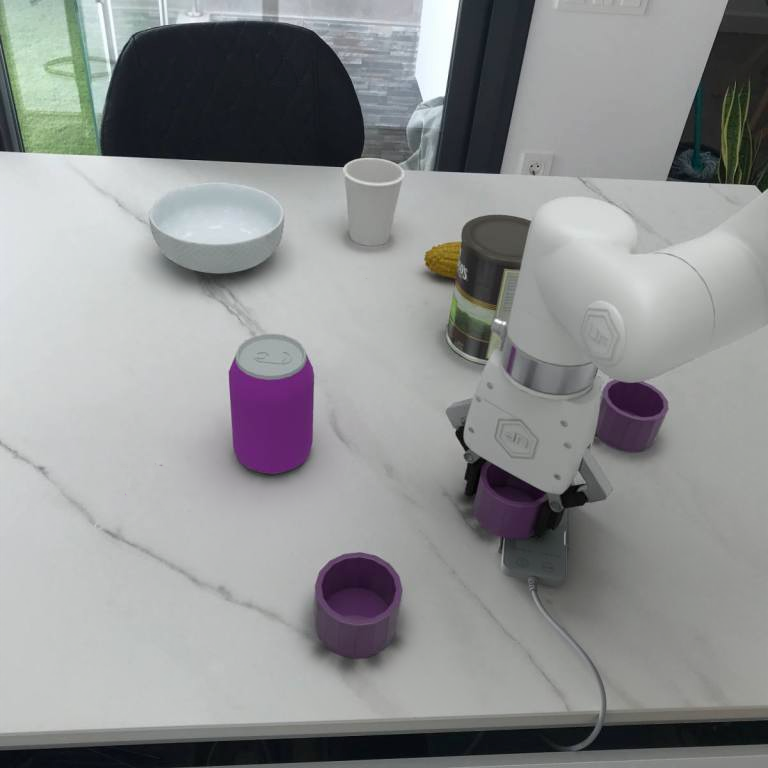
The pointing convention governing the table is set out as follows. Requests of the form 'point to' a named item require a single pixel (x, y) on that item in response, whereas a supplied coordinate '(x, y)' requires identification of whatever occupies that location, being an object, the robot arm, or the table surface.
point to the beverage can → (271, 403)
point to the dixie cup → (371, 198)
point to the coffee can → (485, 283)
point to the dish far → (630, 415)
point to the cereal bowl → (217, 226)
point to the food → (444, 259)
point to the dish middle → (507, 503)
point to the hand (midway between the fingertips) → (509, 506)
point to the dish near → (357, 604)
